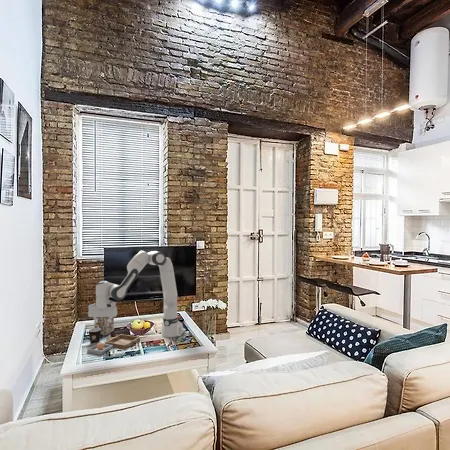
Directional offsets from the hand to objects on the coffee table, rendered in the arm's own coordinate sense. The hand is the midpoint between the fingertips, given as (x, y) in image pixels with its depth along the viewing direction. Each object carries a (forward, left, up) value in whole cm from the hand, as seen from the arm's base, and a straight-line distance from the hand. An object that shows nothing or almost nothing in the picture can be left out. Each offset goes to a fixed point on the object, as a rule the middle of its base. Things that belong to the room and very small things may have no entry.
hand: (103, 322), depth 234 cm
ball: (+2, -1, -19) cm, 19 cm away
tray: (+2, -1, -20) cm, 20 cm away
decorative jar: (-29, -25, -20) cm, 43 cm away
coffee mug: (-8, -17, -20) cm, 27 cm away
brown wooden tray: (-14, +6, -20) cm, 25 cm away
